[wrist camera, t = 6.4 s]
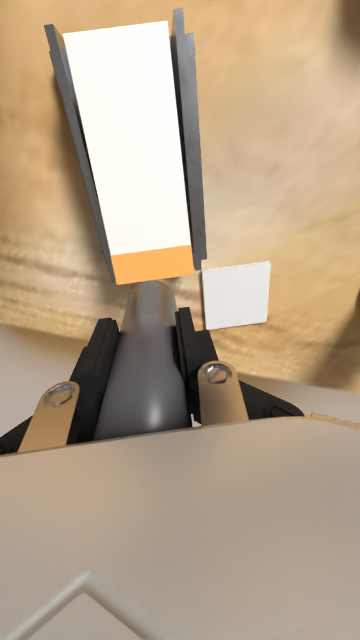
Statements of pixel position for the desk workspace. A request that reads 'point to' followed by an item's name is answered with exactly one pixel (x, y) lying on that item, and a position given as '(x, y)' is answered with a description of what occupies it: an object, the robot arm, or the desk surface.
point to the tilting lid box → (187, 125)
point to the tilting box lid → (134, 147)
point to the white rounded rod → (145, 369)
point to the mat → (236, 294)
